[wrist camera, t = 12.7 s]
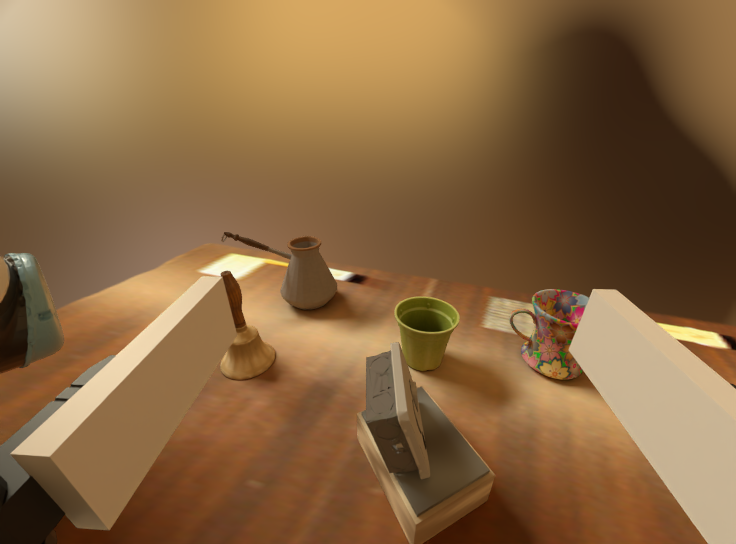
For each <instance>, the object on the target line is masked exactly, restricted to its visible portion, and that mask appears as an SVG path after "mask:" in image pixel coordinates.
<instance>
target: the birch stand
mask: <svg viewBox="0 0 736 544" xmlns="http://www.w3.org/2000/svg"><path fill="white" fill-rule="evenodd" d="M417 397H418V402H419V408H420V414H421V420H422V426H423V431H424V437H425V443H426V449H427V455H428V460H429V466H430V477H429V478H425V479H421V478H420V474H419V471H409V472H405V471H401V472H395V473H389V471H388V469H387V466H386V464H385V462H384V460H383V458H382V456H381V454H380V451H379V449H378V447H377V445H376V443H375V441H374V438H373V436H372V434H371V432H370V430H369V428H368V426H367V423H369V422H366V410H364V411H362V412H360V413H357V432H358V440H359V442H360V444H361V446H362V448H363V450H364V452H365V454H366V456H367V458H368V460H369V463H370V465H371V467H372V469H373V471H374V473H375V475H376V477H377V479H378V481H379V483H380V485H381V487H382V489H383V491H384V493H385V495H386V497H387V499H388V501H389V503H390V505H391V507H392V509H393V511H394V513H395V515H396V517H397V519H398V521H399V523H400V525H401V527H402V529H403V531H404V533H405V535H406V537H407V539H408V541H409V543H410V544H423V543H424V542H426V541H427V540H429V539H430V538H432V537H433V536H435V535H436V534H438V533H439V532H441V531H442V530H444V529H445V528H447V527H448V526H450V525H451V524H453V523H454V522H456V521H457V520H459V519H461V518H462V517H464V516H465V515H467V514H468V513H470V512H471V511H473V510H474V509H476V508H477V507H479V506H480V505H482V504H483V503H485V502H486V501H487V500H488V497H489V494H490V491H491V487H492V484H493V481H494V478H495V474H494V473H493V471H492V470H491V469H490V468H489V467H488V465H487V464H486V463H485V462H484V461H483V459H482V458H481V457H480V456H479V454H478V453H477V452H476V451H475V450H474V448H473V447H472V446H471V445H470V443H469V442H468V441H467V440H466V439H465V437H464V436H463V435H462V434H461V433H460V431H459V430H458V429H457V428H456V426H455V425H454V424H453V423H452V422H451V420H450V419H449V418H448V417H447V416H446V414H445V413H444V412H443V411H442V409H441V408H440V407H439V406H438V405H437V403H436V402H435V401H434V400H433V398H432V397H431V396H430V395H429V394H428V392H427V391H426V390H425V389H424V388H423V386H421V387H418V388H417ZM375 421H376V420H375ZM370 422H372V421H370ZM375 430H376V429H375Z"/></svg>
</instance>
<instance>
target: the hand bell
mask: <svg viewBox="0 0 736 544" xmlns="http://www.w3.org/2000/svg"><path fill="white" fill-rule="evenodd" d="M221 277H223V281H224V285H225V289H226V293H227V297H228V301H229V305H230V309H231V313H232V317H233V321H234V325H235V329H236V332H237V337H236V338H235V340H234V341H233V343H232V344H231V346H230V347H229V349H228V350H227V353H226V354H225V355H224V357H223V359H222V361H221V365H220V368H221V372H222V373H223V374H224V375H225V376H226V377H228V378H230V379H235V380H245V379H249V378H253V377H255V376H258V375H260V374H261V373H263V372H265V371H266V370H267V369H268V368H269V367H270V366H271V365H272V363H273V362H274V359H275V350H274V349H273V347H272V346H271V345H269V344H268V343H266V342H263V341H262V340H261V338H260V336H259V333H258V331H257V329H256V328H255V327H253V326H250V325H246V322H245V320H244V316H243V313H242V294H241V290H240V286H239V284H238V283H237V281H236V280H235V278H234V277H233V275H232V274H231V272H230V271H224V272H222V273H221Z"/></svg>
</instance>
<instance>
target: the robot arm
mask: <svg viewBox="0 0 736 544" xmlns="http://www.w3.org/2000/svg"><path fill="white" fill-rule="evenodd" d="M236 337H237V332H236V329H235V325H234V321H233V317H232V313H231V309H230V305H229V301H228V297H227V293H226V289H225V285H224V281H223V277H212V276H202V277H201V278H200V279H199V280H198V281H196V282H195V283H194V284H193V285H192V286H191V287H190V288H189V289H188V290H187V291H186V292H185V293H183V294H182V295H181V296H180V297H179V298H178V299H177V300H176V301H175V302H174V303H173V304H172V305H171V306H169V307H168V308H167V309H166V310H165V311H164V312H163V313H162V314H161V315H160V316H159V317H158V318H156V319H155V320H154V321H153V322H152V323H151V324H150V325H149V326H148V327H147V328H146V329H145V330H143V331H142V332H141V333H140V334H139V335H138V336H137V337H136V338H135V339H134V340H133V341H132V342H130V343H129V344H128V345H127V346H126V347H125V348H124V349H123V350H122V351H121V352H120V353H119V354H117V355H116V356H115V355H111V356H109V357H107V358H105V359H104V360H102V361H100V362H99V363H97V364H95V365H94V366H92V367H90V368H89V369H88V370H86V371H85V372H84V373H83V374H82V375H81V376H80V377H78V378H77V379H76V380H75V381H74V382H73V383H72V384H71V386H70V388H66V389H65V390H64V391H63V392H61V393H60V394H59V395H58V396H57V397H56V399H55V401H54V402H53V401H51V402H50V403H49V404H48V405H47V406H46V407H44V408H43V409H42V410H41V411H40V412H39V413H38V414H37V415H35V416H34V417H33V418H32V419H31V420H30V421H29V422H27V423H26V424H25V425H24V426H23V427H22V428H21V429H20V430H18V431H17V432H16V433H15V434H14V435H13V436H12V437H10V438H9V439H8V440H7V441H6V442H5V443H4V444H3V445H1V446H0V544H57V537H56V531H55V530H54V527H55V526H56V525H57V524H58V522H59V521H60V520H61V519H62V517H63V516H64V515H66V517H67V518H68V519H69V520H70V521H71V522H72V523H73V524H74V525H75V526H76V528H84V529H96V530H110V529H111V527H112V526H113V524H114V523H115V521H116V520H117V518H118V517H119V515H120V514H121V512H122V511H123V509H124V508H125V506H126V505H127V503H128V501H129V500H130V498H131V497H132V495H133V494H134V492H135V491H136V489H137V488H138V486H139V485H140V483H141V482H142V480H143V479H144V477H145V476H146V474H147V473H148V471H149V469H150V468H151V466H152V465H153V463H154V462H155V460H156V459H157V457H158V456H159V454H160V453H161V451H162V450H163V448H164V447H165V445H166V444H167V442H168V440H169V439H170V437H171V436H172V434H173V433H174V431H175V430H176V428H177V427H178V425H179V424H180V422H181V421H182V419H183V418H184V416H185V415H186V413H187V412H188V410H189V408H190V407H191V405H192V404H193V402H194V401H195V399H196V398H197V396H198V395H199V393H200V392H201V390H202V389H203V387H204V386H205V384H206V383H207V381H208V379H209V378H210V376H211V375H212V373H213V372H214V370H215V369H216V367H217V366H218V364H219V363H220V361H221V360H222V358H223V357H224V355H225V354H226V352H227V350H228V349H229V347H230V346H231V344H232V343H233V341H234V340H235V338H236ZM63 344H64V335H63V331H62V327H61V324H60V320H59V317H58V314H57V311H56V308H55V305H54V302H53V300H52V297H51V294H50V291H49V289H48V286H47V283H46V281H45V278H44V276H43V273H42V271H41V268H40V266H39V264H38V262H37V260H36V258H35V257H34V256H33V255H31V254H28V253H22V254H15V253H10V254H6V255H5V256H4V257H2V256H1V255H0V374H1V373H4V372H7V371H10V370H12V369H15V368H18V367H19V368H24V367H27V366H28V365H30V363H32V362H35V361H37V360H40V359H42V358H45V357H47V356H50V355H53V354H55V353H56V352H58V351H59V350H60V349H61V347H62V346H63ZM569 351H570V353H571V354H572V356H573V357H574V358H575V360H576V361H577V363H578V364H579V365H580V367H581V368H582V369H583V371H584V372H585V374H586V375H587V376H588V378H589V379H590V381H591V382H592V383H593V385H594V386H595V387H596V389H597V390H598V392H599V393H600V394H601V396H602V397H603V399H604V400H605V401H606V403H607V404H608V405H609V407H610V408H611V410H612V411H613V412H614V414H615V415H616V417H617V418H618V419H619V421H620V422H621V424H622V425H623V426H624V428H625V429H626V430H627V432H628V433H629V435H630V436H631V437H632V439H633V440H634V442H635V443H636V444H637V446H638V447H639V448H640V450H641V451H642V453H643V454H644V455H645V457H646V458H647V460H648V461H649V462H650V464H651V465H652V467H653V468H654V469H655V471H656V472H657V473H658V475H659V476H660V478H661V479H662V480H663V482H664V483H665V485H666V486H667V487H668V489H669V490H670V491H671V493H672V494H673V496H674V497H675V498H676V500H677V501H678V503H679V504H680V505H681V507H682V508H683V510H684V511H685V512H686V514H687V515H688V516H689V518H690V519H691V521H692V522H693V523H694V525H695V526H696V528H697V529H698V530H699V532H700V533H701V534H702V536H703V537H704V539H705V540H706V541H707V543H708V544H736V386H735V385H733V384H729V383H728V382H727V381H726V380H724V379H723V378H722V377H721V376H720V375H718V374H717V373H716V372H715V371H714V370H712V369H711V368H710V367H709V366H707V365H706V364H705V363H704V362H703V361H701V360H700V359H699V358H698V357H697V356H695V355H694V354H693V353H692V352H691V351H689V350H688V349H687V348H686V347H685V346H683V345H682V344H681V343H680V342H678V341H677V340H676V339H675V338H674V337H672V336H671V335H670V334H669V333H668V332H666V331H665V330H664V329H663V328H662V327H660V326H659V325H658V324H657V323H656V322H654V321H653V320H652V319H651V318H650V317H648V316H647V315H646V314H645V313H643V312H642V311H641V310H640V309H639V308H637V307H636V306H635V305H634V304H633V303H631V302H630V301H629V300H628V299H627V298H625V297H624V296H623V295H622V294H621V293H619V292H618V291H617V290H604V289H593V291H592V293H591V296H590V298H589V300H588V303H587V305H586V308H585V310H584V313H583V315H582V318H581V320H580V323H579V325H578V328H577V330H576V333H575V335H574V337H573V340H572V342H571V345H570V347H569Z"/></svg>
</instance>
